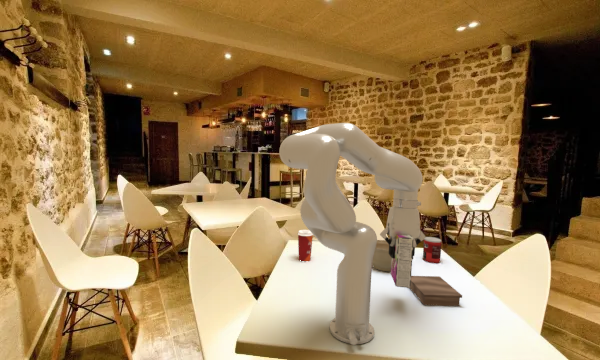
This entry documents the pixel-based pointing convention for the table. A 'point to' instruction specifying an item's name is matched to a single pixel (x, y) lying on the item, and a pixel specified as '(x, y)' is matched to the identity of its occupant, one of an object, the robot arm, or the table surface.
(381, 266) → the planter bowl
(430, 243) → the canned food
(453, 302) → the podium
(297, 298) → the table surface
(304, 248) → the paper cup
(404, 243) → the candy bar box
